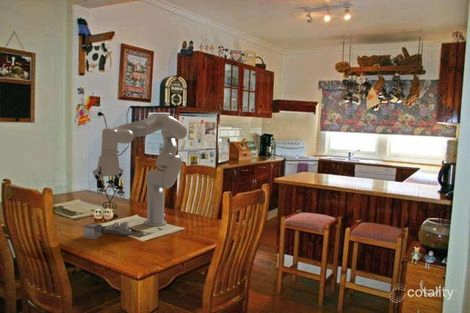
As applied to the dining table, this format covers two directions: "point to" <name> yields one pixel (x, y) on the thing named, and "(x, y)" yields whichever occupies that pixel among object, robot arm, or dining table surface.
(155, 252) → the dining table surface
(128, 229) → the ratchet
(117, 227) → the small socket
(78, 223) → the dining table surface
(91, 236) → the socket
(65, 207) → the dining table surface
